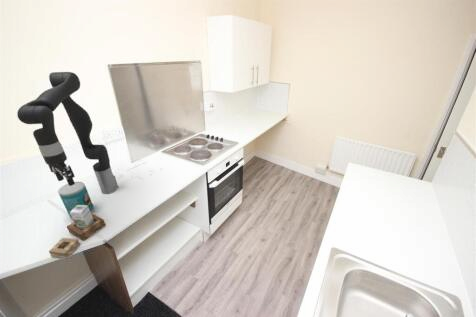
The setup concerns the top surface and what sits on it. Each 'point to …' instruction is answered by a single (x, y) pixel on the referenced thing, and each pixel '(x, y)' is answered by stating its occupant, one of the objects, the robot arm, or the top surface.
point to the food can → (75, 196)
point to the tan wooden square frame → (59, 247)
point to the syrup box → (82, 216)
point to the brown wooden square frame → (87, 231)
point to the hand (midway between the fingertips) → (66, 182)
